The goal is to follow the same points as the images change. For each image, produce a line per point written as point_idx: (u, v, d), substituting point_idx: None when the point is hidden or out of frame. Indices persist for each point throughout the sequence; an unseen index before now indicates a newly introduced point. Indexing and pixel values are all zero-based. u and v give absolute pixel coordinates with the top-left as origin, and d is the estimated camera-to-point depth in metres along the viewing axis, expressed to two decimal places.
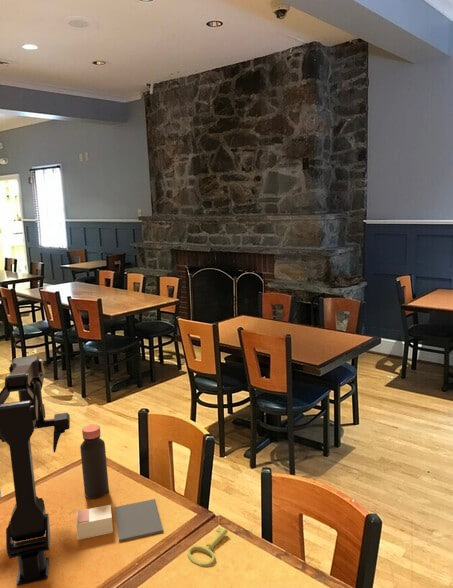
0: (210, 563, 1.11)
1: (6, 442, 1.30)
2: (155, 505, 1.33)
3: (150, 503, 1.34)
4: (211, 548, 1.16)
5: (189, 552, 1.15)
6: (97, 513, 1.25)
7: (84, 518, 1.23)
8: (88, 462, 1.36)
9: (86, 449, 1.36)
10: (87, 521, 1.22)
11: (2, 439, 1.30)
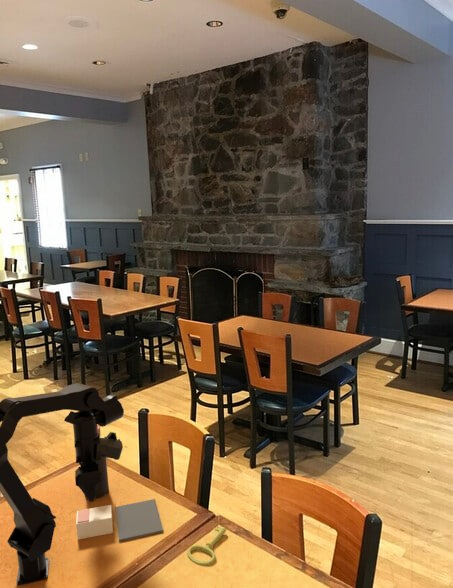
0: (211, 562, 1.12)
1: None
2: (155, 505, 1.33)
3: (150, 503, 1.34)
4: (211, 547, 1.16)
5: (189, 552, 1.15)
6: (97, 513, 1.25)
7: (84, 518, 1.23)
8: None
9: None
10: (87, 521, 1.22)
11: None
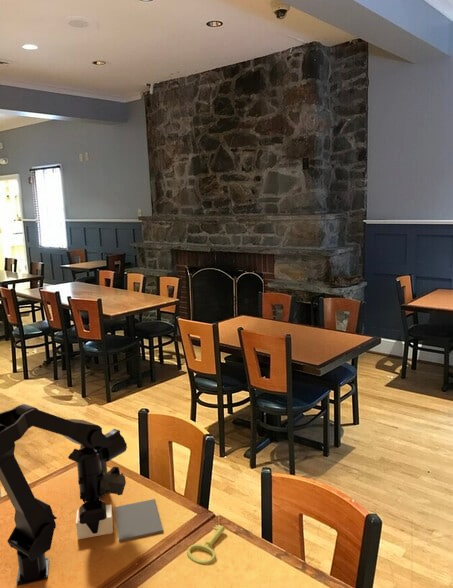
0: (211, 560, 1.12)
1: None
2: (155, 505, 1.33)
3: (150, 503, 1.34)
4: (210, 546, 1.17)
5: (189, 551, 1.15)
6: None
7: None
8: None
9: None
10: None
11: None
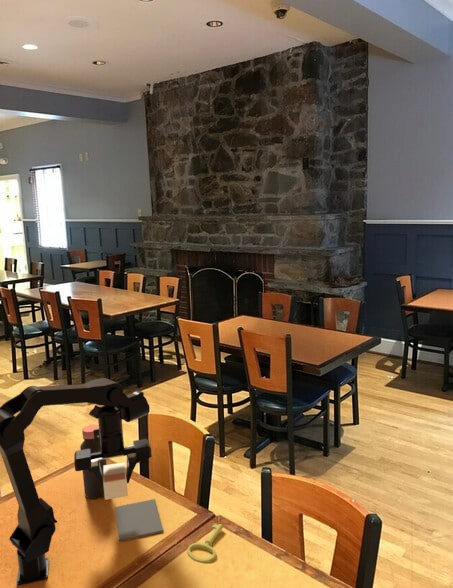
0: (212, 558, 1.13)
1: None
2: (155, 505, 1.33)
3: (150, 503, 1.34)
4: (210, 544, 1.17)
5: (189, 550, 1.16)
6: (113, 470, 1.25)
7: (120, 475, 1.23)
8: None
9: None
10: (125, 473, 1.24)
11: (88, 469, 1.20)
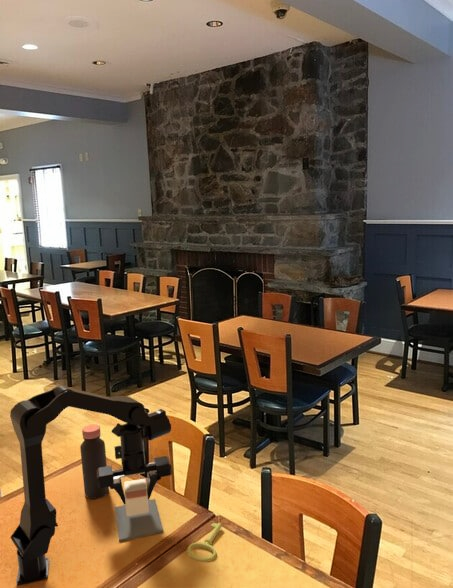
0: (213, 557, 1.13)
1: (115, 489, 1.22)
2: (155, 505, 1.33)
3: (150, 503, 1.34)
4: (210, 543, 1.18)
5: (189, 550, 1.16)
6: (134, 487, 1.28)
7: (141, 492, 1.25)
8: (88, 462, 1.36)
9: (86, 449, 1.36)
10: (146, 490, 1.26)
11: None
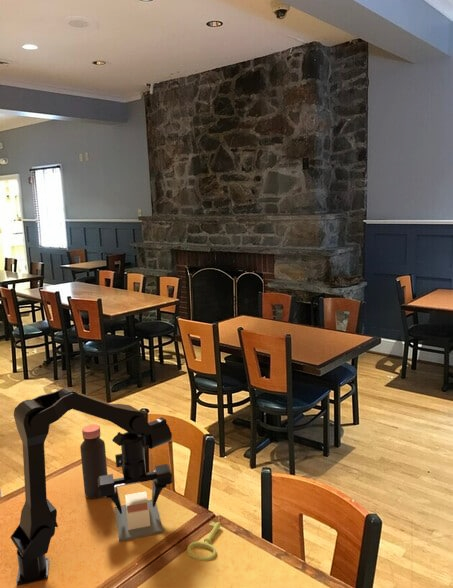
0: (213, 556, 1.14)
1: (111, 498, 1.22)
2: (155, 505, 1.33)
3: (150, 503, 1.34)
4: (209, 542, 1.18)
5: (189, 549, 1.16)
6: (135, 500, 1.28)
7: (142, 505, 1.26)
8: (88, 462, 1.36)
9: (86, 449, 1.36)
10: (147, 503, 1.27)
11: None
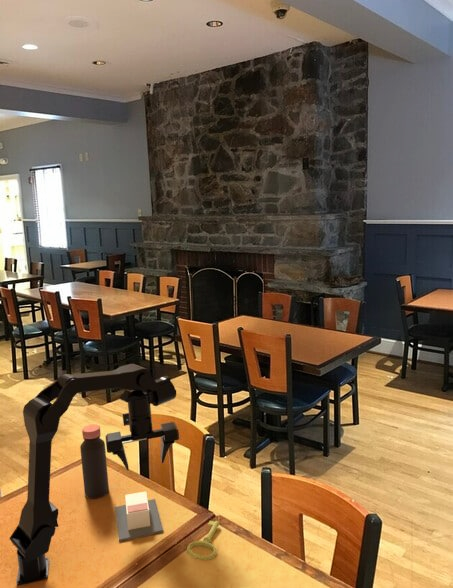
0: (213, 555, 1.14)
1: None
2: (155, 505, 1.33)
3: (150, 503, 1.34)
4: (209, 541, 1.18)
5: (189, 549, 1.16)
6: (135, 500, 1.28)
7: (142, 505, 1.26)
8: (88, 462, 1.36)
9: (86, 449, 1.36)
10: (147, 503, 1.27)
11: None
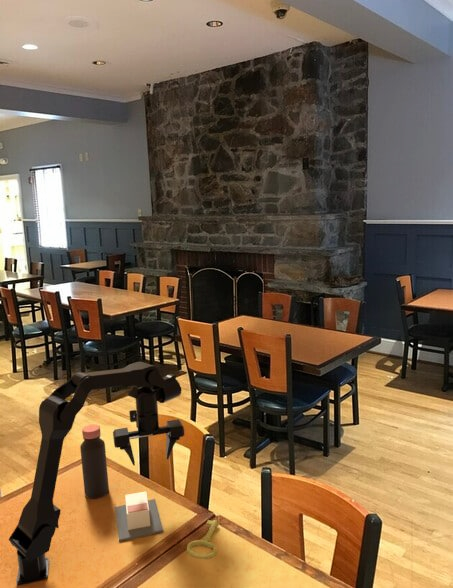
0: (213, 553, 1.14)
1: None
2: (155, 505, 1.33)
3: (150, 503, 1.34)
4: (208, 540, 1.19)
5: (189, 548, 1.16)
6: (135, 500, 1.28)
7: (142, 505, 1.26)
8: (88, 462, 1.36)
9: (86, 449, 1.36)
10: (147, 503, 1.27)
11: None
